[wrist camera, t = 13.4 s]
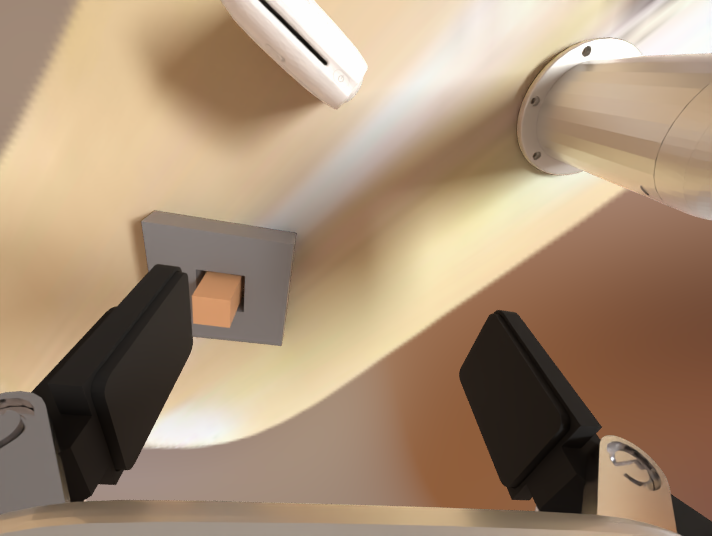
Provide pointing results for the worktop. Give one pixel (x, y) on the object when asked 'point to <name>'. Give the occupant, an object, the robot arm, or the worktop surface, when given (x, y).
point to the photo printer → (303, 45)
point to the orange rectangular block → (217, 299)
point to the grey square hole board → (228, 269)
